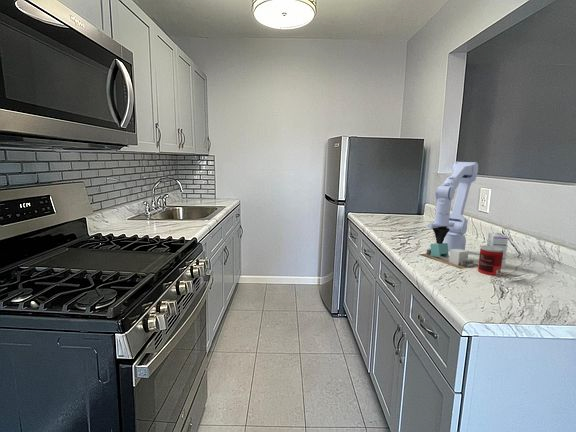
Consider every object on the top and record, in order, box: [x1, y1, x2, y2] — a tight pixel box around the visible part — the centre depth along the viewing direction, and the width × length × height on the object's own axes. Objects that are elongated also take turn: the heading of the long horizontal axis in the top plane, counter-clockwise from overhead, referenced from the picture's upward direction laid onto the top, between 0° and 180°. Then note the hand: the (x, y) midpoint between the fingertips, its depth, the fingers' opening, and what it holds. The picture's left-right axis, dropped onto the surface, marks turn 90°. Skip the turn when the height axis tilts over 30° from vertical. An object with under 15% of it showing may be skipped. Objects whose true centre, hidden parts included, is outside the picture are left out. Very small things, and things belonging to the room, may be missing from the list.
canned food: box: [477, 244, 503, 277], centre depth 133 cm, size 8×8×11 cm
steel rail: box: [425, 248, 474, 268], centre depth 149 cm, size 4×21×2 cm, turn 26°
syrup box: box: [487, 232, 509, 269], centre depth 142 cm, size 6×6×14 cm
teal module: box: [429, 242, 450, 257], centre depth 153 cm, size 6×4×6 cm
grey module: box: [448, 248, 469, 265], centre depth 144 cm, size 6×4×6 cm
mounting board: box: [418, 252, 478, 270], centre depth 149 cm, size 12×22×1 cm, turn 26°
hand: (439, 243), depth 153 cm, fingers closed, pressing on teal module
